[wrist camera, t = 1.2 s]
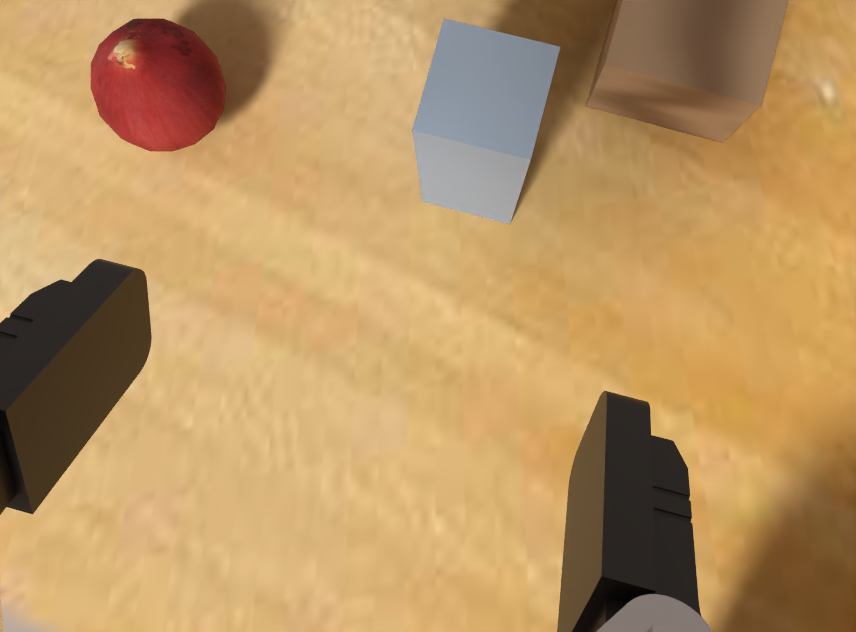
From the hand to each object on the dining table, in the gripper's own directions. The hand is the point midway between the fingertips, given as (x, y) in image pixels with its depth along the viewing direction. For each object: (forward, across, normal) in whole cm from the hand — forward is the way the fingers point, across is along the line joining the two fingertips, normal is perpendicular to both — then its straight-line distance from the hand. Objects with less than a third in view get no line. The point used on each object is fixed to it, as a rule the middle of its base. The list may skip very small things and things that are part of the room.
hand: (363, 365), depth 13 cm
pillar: (+25, 0, +9) cm, 27 cm away
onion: (+25, +15, +10) cm, 31 cm away
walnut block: (+31, -8, +4) cm, 32 cm away
